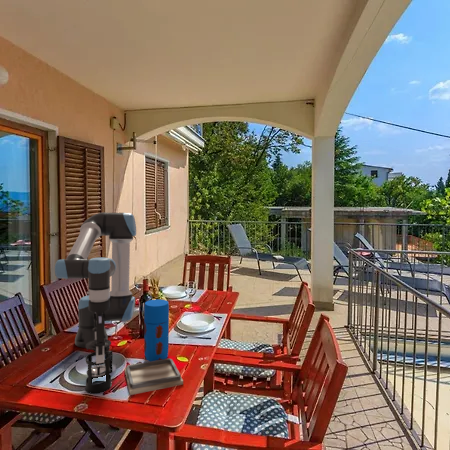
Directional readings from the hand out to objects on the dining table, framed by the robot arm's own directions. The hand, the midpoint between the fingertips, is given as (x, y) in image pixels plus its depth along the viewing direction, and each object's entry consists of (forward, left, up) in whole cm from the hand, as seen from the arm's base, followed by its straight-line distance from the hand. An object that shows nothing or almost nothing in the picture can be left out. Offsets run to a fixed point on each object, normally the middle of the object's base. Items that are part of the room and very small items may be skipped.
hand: (99, 354), depth 126 cm
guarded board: (+1, +20, -13) cm, 24 cm away
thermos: (-17, +25, -13) cm, 33 cm away
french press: (0, 0, -13) cm, 13 cm away
